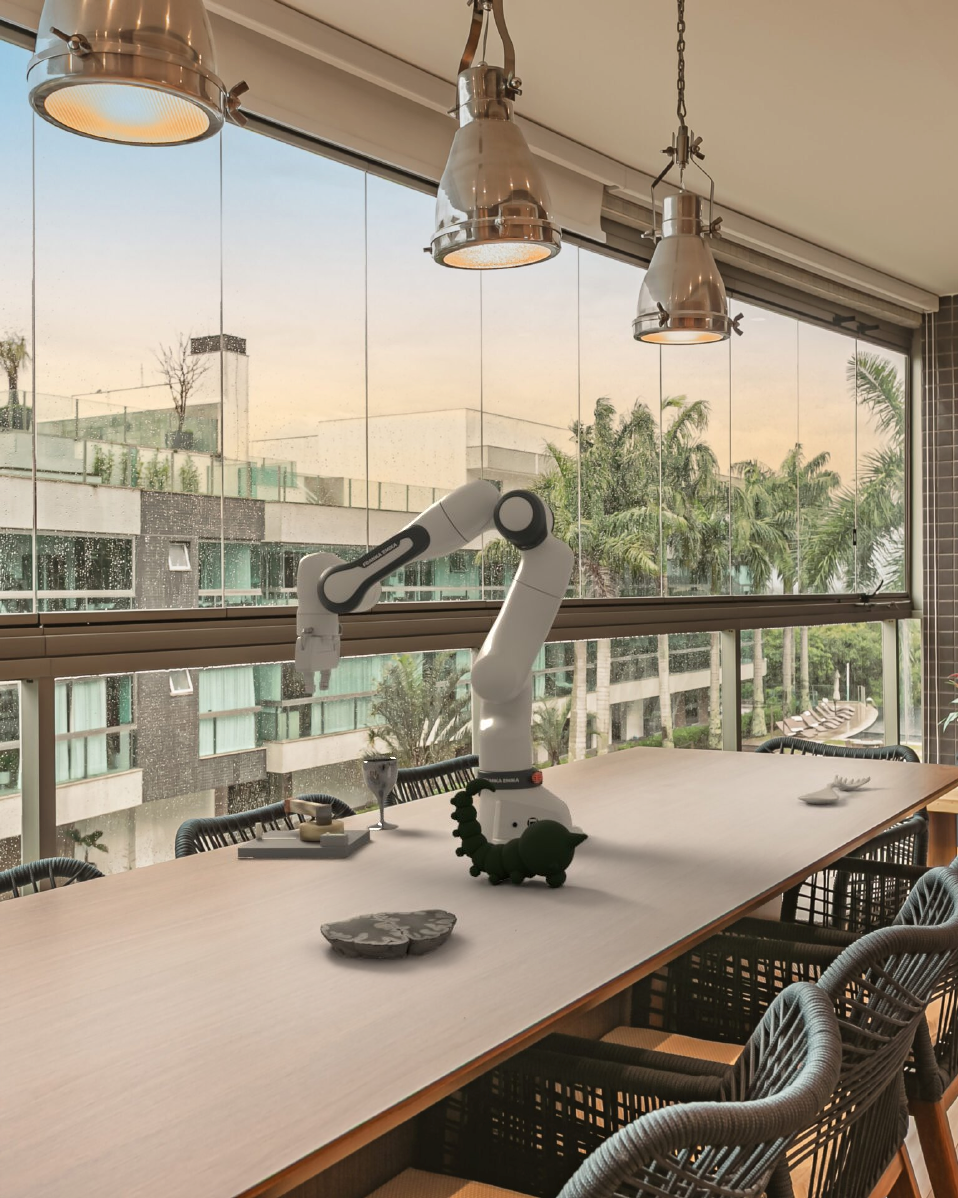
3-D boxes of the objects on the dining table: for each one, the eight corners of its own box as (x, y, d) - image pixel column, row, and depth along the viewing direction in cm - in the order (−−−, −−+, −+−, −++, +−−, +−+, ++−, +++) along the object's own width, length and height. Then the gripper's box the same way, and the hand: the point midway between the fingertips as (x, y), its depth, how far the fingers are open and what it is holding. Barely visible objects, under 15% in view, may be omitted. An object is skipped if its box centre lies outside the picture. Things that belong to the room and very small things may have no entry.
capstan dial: (352, 836, 229) (351, 803, 229) (314, 843, 223) (313, 810, 224) (308, 826, 242) (307, 795, 242) (271, 832, 236) (270, 801, 237)
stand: (370, 839, 237) (369, 814, 237) (345, 858, 219) (344, 831, 219) (270, 840, 240) (269, 815, 240) (238, 858, 223) (237, 831, 223)
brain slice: (345, 976, 147) (344, 953, 147) (310, 943, 163) (310, 922, 163) (483, 953, 155) (482, 931, 155) (437, 923, 170) (437, 904, 170)
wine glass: (394, 830, 246) (392, 761, 246) (359, 830, 248) (357, 762, 248) (404, 823, 254) (402, 757, 254) (370, 823, 255) (368, 757, 256)
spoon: (872, 789, 279) (871, 775, 279) (830, 809, 253) (829, 794, 253) (836, 787, 284) (835, 773, 284) (790, 807, 258) (790, 792, 258)
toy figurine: (450, 894, 194) (582, 893, 182) (437, 783, 196) (567, 775, 183) (477, 881, 203) (605, 880, 191) (464, 776, 204) (591, 768, 192)
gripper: (316, 628, 233) (316, 695, 232) (344, 626, 253) (344, 688, 253) (287, 628, 234) (287, 695, 234) (317, 626, 254) (317, 688, 254)
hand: (317, 691), depth 243 cm, fingers open, 8 cm apart
